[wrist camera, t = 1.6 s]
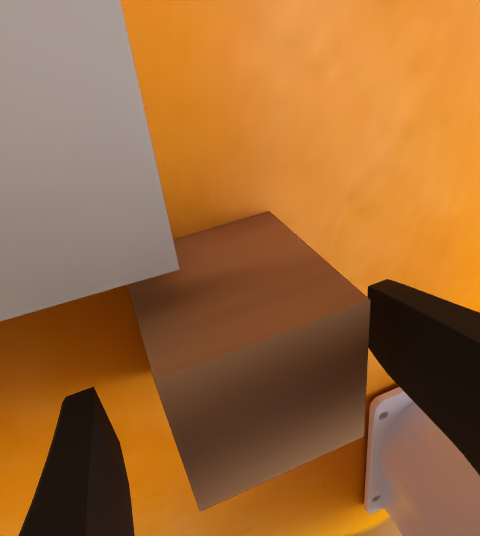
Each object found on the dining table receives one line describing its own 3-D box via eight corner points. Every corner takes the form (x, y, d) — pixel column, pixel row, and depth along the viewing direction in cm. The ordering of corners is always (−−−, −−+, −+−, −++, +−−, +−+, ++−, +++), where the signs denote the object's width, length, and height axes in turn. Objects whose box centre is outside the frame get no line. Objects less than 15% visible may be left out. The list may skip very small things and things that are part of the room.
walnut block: (280, 325, 15) (363, 436, 11) (157, 370, 14) (199, 511, 10) (268, 210, 13) (370, 300, 9) (118, 254, 12) (154, 380, 8)
